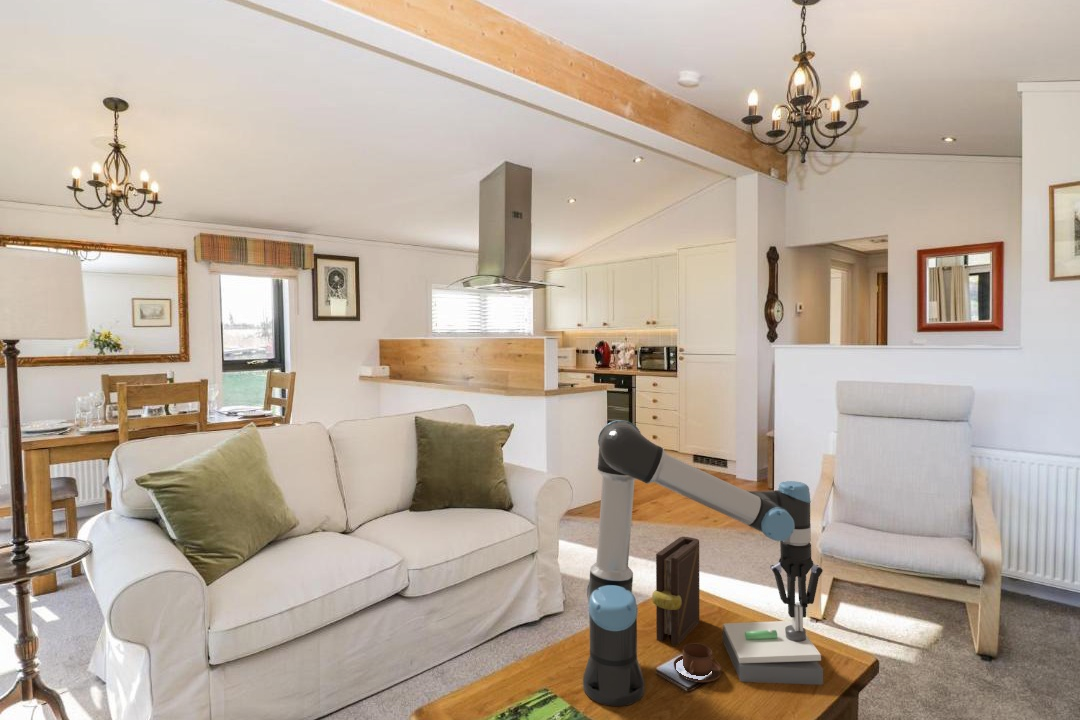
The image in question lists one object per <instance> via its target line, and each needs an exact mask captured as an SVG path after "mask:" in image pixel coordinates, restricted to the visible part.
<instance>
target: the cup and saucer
mask: <svg viewBox="0 0 1080 720" xmlns="http://www.w3.org/2000/svg"><path fill="white" fill-rule="evenodd" d="M682 659H683V666H684V668H685V670H686V671H687V672H689V673H690V674H691V675H696V676H705V675H708V674H709V673H710V672H711V671H712V676H711V677H709V678H708V679H706V680H698V679H693V678H689V677H686V676H684V675H682V674H681V673H679V672H678V671H677V670H676V663H677V662H678V661H680V660H682ZM673 668H674V670H675V671H677V674H678V673H679V674H680V675H679V674H678V675H679V676H680V677H682V676H683V677H682V678H684V677H685V678H687V679H686V680H688V679H689V680H688V681H690V680H692V681H691V682H694V681H697V682H696V683H701V684H702V683H704V684H705V683H711V682H714V681H716V680H717V679H719V677H721V675H722V672H723V671H722V666H721V665H720V664H719V663H718V662H717V661H716V660H715V659H713V651H712V649H711V648H710V647H709V646H707V645H705V644H701V643H695V642H694V643H693V642H692V643H691V642H690V643H687V644H685V645H684V646H683V647H682V655H680V656H678V657H677V658H676V659H674V661H673ZM685 678H684V679H685Z"/></svg>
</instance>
